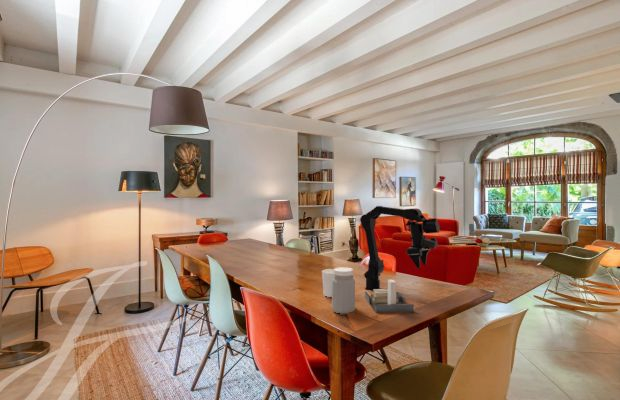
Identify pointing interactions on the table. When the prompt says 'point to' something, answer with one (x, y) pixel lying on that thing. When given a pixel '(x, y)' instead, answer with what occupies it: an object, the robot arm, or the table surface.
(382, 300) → the offcut stack
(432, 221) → the robot arm
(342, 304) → the jar
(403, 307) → the rack
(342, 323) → the table surface
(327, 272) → the white cylinder
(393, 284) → the cream rectangular block
